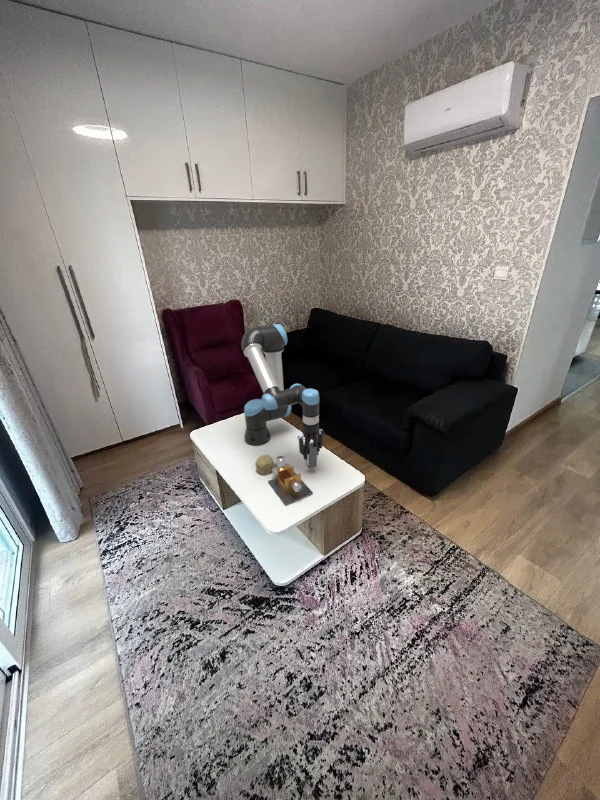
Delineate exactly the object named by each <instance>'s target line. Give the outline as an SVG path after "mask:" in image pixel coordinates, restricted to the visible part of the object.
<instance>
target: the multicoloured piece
mask: <svg viewBox="0 0 600 800" xmlns="http://www.w3.org/2000/svg"><path fill="white" fill-rule="evenodd" d="M271 473H273V474H274V475H275V476H277V477H275V478H272V479H270V480H268V481H267V482H268V484H269V485H270V487H271V489H272V490H273V491H274V493H275V494H276V495H277V497H278V498H279V499H280V501H281V502H282V503H283V504H284V506H285V507H286V506H288V505H289V506H290V505H291V504H293V503H296V502H298V501H301V500H303V499H306V498H307V497H309V496H312V495H314V492H313V491H312V489H311V488H309V486H308V485H307V484H306V483H305V482H304V481H303V479H302V474H301V473H298V474H297V473H296V472H295V468H294V465H290V464H289V463H288V462H286V457H285V456H283V455H279V456H277V457H276V463H274V465H273V467H272V472H271Z"/></svg>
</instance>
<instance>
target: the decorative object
mask: <svg viewBox="0 0 600 800" xmlns="http://www.w3.org/2000/svg"><path fill="white" fill-rule="evenodd" d="M273 465H275V462H274V459H273V457H272V456H271V455H270V454H262V455H260V456H259V457H257V459H256V461H255V472H256V473H258V474H259V475H262V476H267V475H269V474H272V473H273V472H272V467H273Z"/></svg>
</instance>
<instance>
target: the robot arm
mask: <svg viewBox="0 0 600 800" xmlns="http://www.w3.org/2000/svg"><path fill="white" fill-rule="evenodd" d="M287 344H288V335H287V332H286V330H285V327H283V325H282V324H279V323H277V324H276V323H275V324H274V323H273V324H267V325H261V326H253V327H250V328H249V329H248V330H246V332H245V333H244V335H243V337H242V340H241V350H242V352H243V355H244V357H246V358H247V359H248V362H249V363H250V365H251V367H252V369H253V373H254V374H255V377H256V380H257V381H258V383H259V386H260V388H261V390H262V392H263V394H262V396H261V398H255V399H251V400H249V401H247V402H246V404H244V407H243V408H244V409H243V411H244V412H243V414H244V419H245V432H244V435H243V436H244V437H243V438H244V442H245V443H246V444H247V445H249V446H254V447H255V446H263V445H265V444H268V442H270V440H271V432H270V430H269V428H268V426H267V422H270V421H274V420H278V419H282V418H284V417H288V416H290V414H291V412H292V406H293V405H296V404H299V406H301V407H302V411H301V412H302V431H303V432H301V433H302V434H301V435H298V436H297V440H298V449H299V454H301V455H302V456H303V460H304V464H305V465H306V464H307V466H309V454H308V448H309V443H311V442H313V443H314V444H315V445H316V446H317V457H318V456H319V452H320V451H321V450H320V449H323V439H324V438H323V437H324V433H325V431H324V430H323V428H320V418H319V417H320V393H319V391H318V390H317V389H314V388H306V386H304V385H302V384H301V383H294V384H292V385H291V386H290V387H289V388H287V389H285V388H284V373H283V362H282V361H283V359H282V353H283V352H284V350H285V348H284V347H285V346H287ZM264 355H265V356H264ZM307 466H306V467H307Z"/></svg>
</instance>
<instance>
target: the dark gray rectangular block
mask: <svg viewBox="0 0 600 800" xmlns="http://www.w3.org/2000/svg"><path fill="white" fill-rule="evenodd" d="M308 454H309V466H307V464H306V463H305V466H306V467H307V468H308V469H309V470H311V469H313V468H316V467H317V463H318V456H317V446H316V445H315V444H314V443H313V441H311V442H310V443H309V448H308Z"/></svg>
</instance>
